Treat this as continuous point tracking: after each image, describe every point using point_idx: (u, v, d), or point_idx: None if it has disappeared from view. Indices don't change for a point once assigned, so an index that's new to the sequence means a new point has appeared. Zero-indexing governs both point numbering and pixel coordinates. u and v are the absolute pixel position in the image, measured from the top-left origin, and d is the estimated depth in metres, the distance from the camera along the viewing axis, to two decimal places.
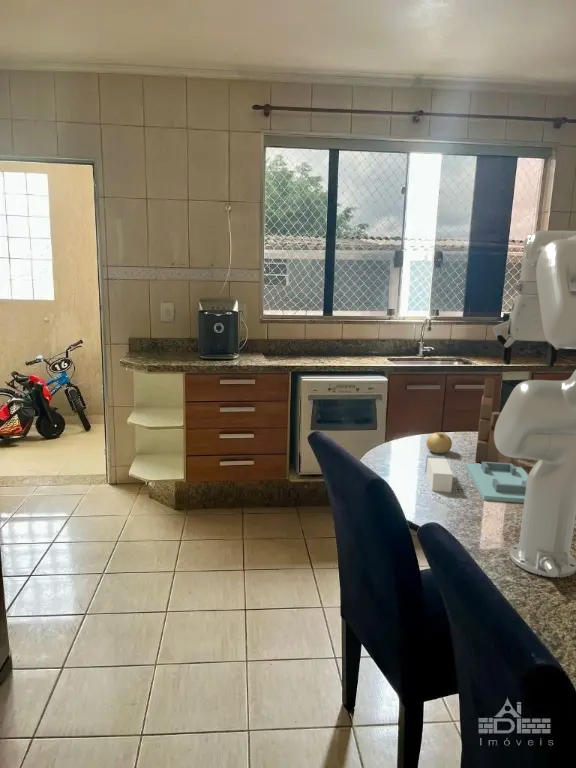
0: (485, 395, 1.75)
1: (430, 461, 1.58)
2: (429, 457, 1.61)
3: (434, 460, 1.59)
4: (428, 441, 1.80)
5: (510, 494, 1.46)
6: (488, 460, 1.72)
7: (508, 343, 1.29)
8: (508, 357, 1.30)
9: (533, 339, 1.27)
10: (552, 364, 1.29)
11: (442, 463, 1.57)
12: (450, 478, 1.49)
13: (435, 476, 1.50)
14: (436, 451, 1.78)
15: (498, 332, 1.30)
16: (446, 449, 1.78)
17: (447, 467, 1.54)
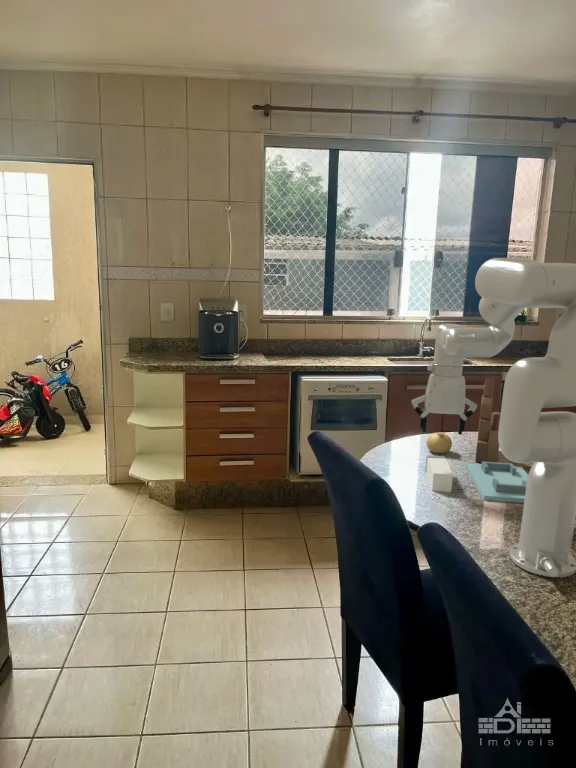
0: (485, 395, 1.75)
1: (430, 461, 1.58)
2: (429, 457, 1.61)
3: (433, 460, 1.59)
4: (428, 441, 1.80)
5: (510, 494, 1.46)
6: (488, 460, 1.72)
7: (423, 414, 1.53)
8: (424, 426, 1.53)
9: (443, 412, 1.50)
10: (460, 432, 1.52)
11: (442, 463, 1.57)
12: (450, 478, 1.49)
13: (435, 476, 1.50)
14: (436, 451, 1.78)
15: (415, 405, 1.53)
16: (446, 449, 1.78)
17: (447, 467, 1.54)
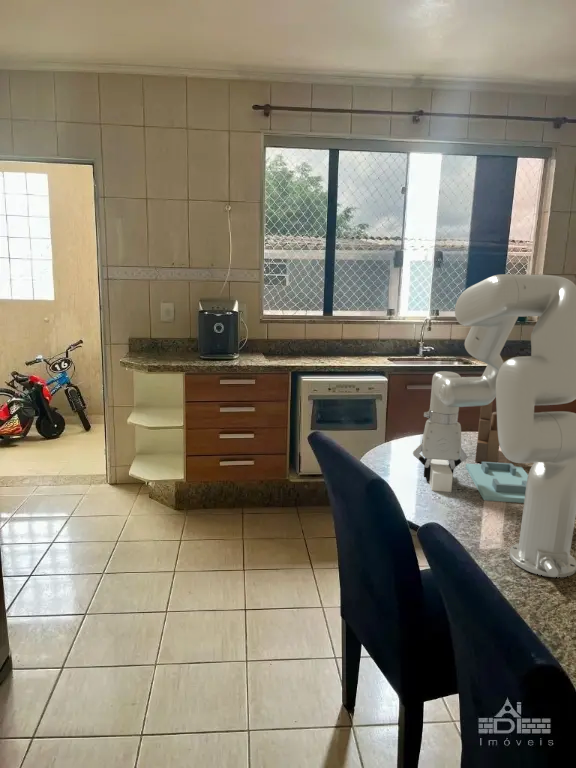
0: None
1: None
2: None
3: (433, 460, 1.59)
4: None
5: (510, 494, 1.46)
6: (488, 460, 1.72)
7: (427, 464, 1.55)
8: (428, 475, 1.55)
9: (440, 458, 1.53)
10: None
11: (442, 463, 1.57)
12: (450, 478, 1.49)
13: (435, 476, 1.50)
14: None
15: (418, 456, 1.55)
16: None
17: (447, 467, 1.54)
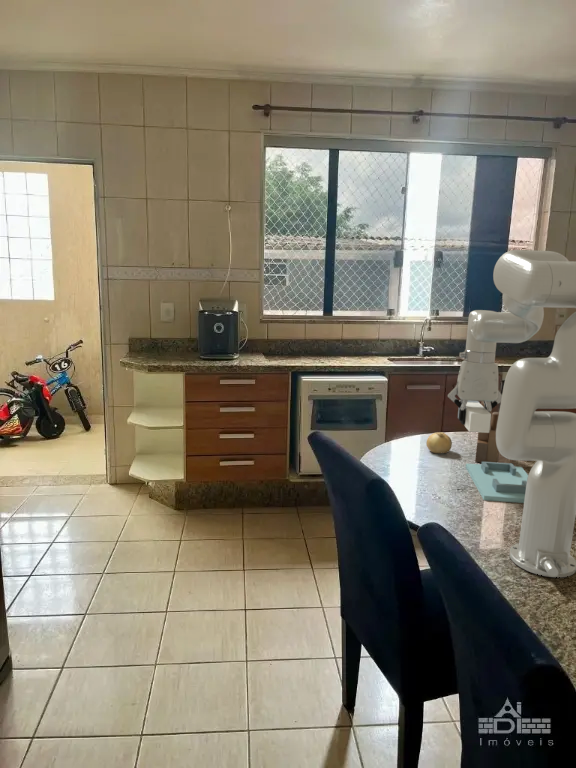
0: None
1: None
2: None
3: (468, 404, 1.55)
4: (428, 441, 1.80)
5: (510, 494, 1.46)
6: (488, 460, 1.72)
7: (463, 406, 1.51)
8: (463, 418, 1.51)
9: (477, 399, 1.49)
10: None
11: (477, 406, 1.53)
12: (488, 418, 1.45)
13: (473, 416, 1.45)
14: (436, 451, 1.78)
15: (453, 398, 1.51)
16: (446, 449, 1.78)
17: (483, 409, 1.50)
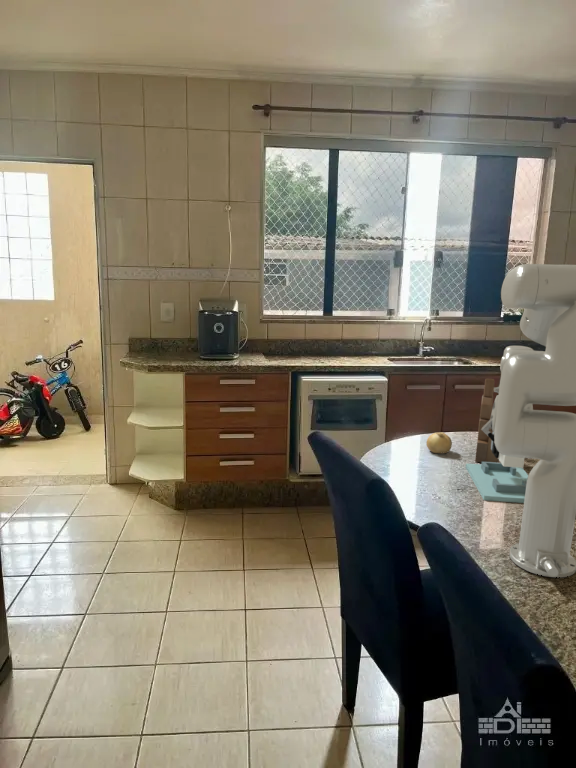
0: (485, 395, 1.75)
1: None
2: None
3: None
4: (428, 441, 1.80)
5: (510, 494, 1.46)
6: (488, 460, 1.72)
7: None
8: (497, 452, 1.53)
9: None
10: None
11: None
12: None
13: None
14: (436, 451, 1.78)
15: (487, 432, 1.53)
16: (446, 449, 1.78)
17: None
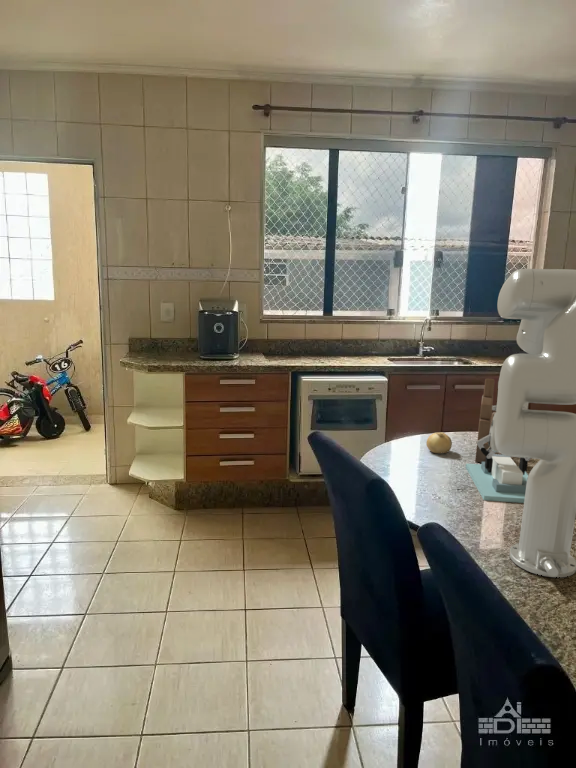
0: (485, 395, 1.75)
1: (496, 460, 1.57)
2: (494, 456, 1.60)
3: (499, 459, 1.58)
4: (428, 441, 1.80)
5: (510, 494, 1.46)
6: None
7: (490, 455, 1.54)
8: (490, 466, 1.54)
9: None
10: (523, 473, 1.53)
11: (508, 462, 1.55)
12: (520, 477, 1.48)
13: (505, 475, 1.48)
14: (436, 451, 1.78)
15: (481, 446, 1.54)
16: (446, 449, 1.78)
17: (515, 466, 1.53)
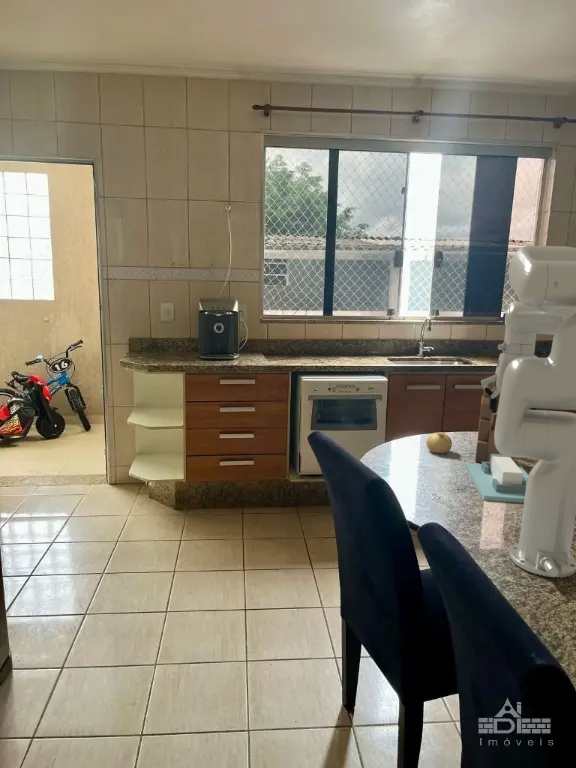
0: (485, 395, 1.75)
1: (496, 460, 1.57)
2: (494, 456, 1.60)
3: (499, 459, 1.58)
4: (428, 441, 1.80)
5: (510, 494, 1.46)
6: (488, 460, 1.72)
7: (494, 395, 1.49)
8: (494, 407, 1.49)
9: None
10: None
11: (508, 462, 1.55)
12: (520, 477, 1.48)
13: (505, 475, 1.48)
14: (436, 451, 1.78)
15: (485, 385, 1.49)
16: (446, 449, 1.78)
17: (515, 466, 1.53)
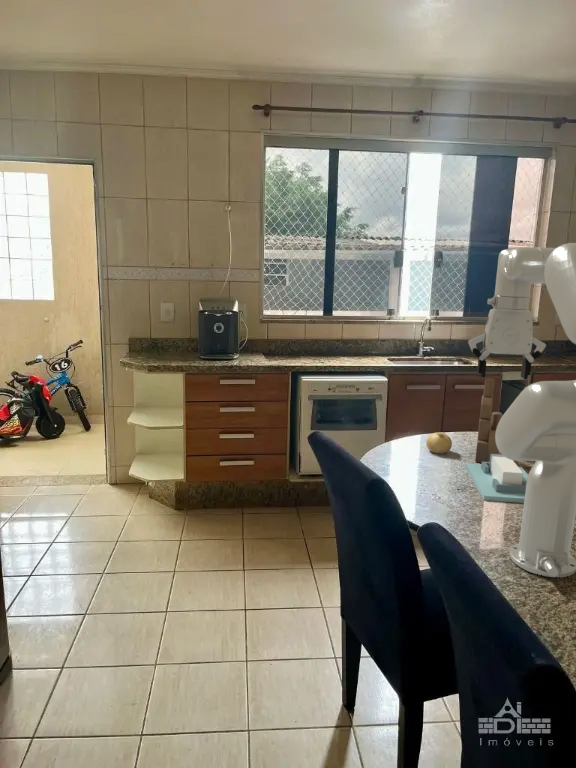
0: (485, 395, 1.75)
1: (496, 460, 1.57)
2: (494, 456, 1.60)
3: (499, 459, 1.58)
4: (428, 441, 1.80)
5: (510, 494, 1.46)
6: (488, 460, 1.72)
7: (483, 356, 1.32)
8: (483, 370, 1.32)
9: (507, 352, 1.29)
10: (526, 377, 1.31)
11: (508, 462, 1.55)
12: (520, 477, 1.48)
13: (505, 475, 1.48)
14: (436, 451, 1.78)
15: (473, 346, 1.32)
16: (446, 449, 1.78)
17: (515, 466, 1.53)
